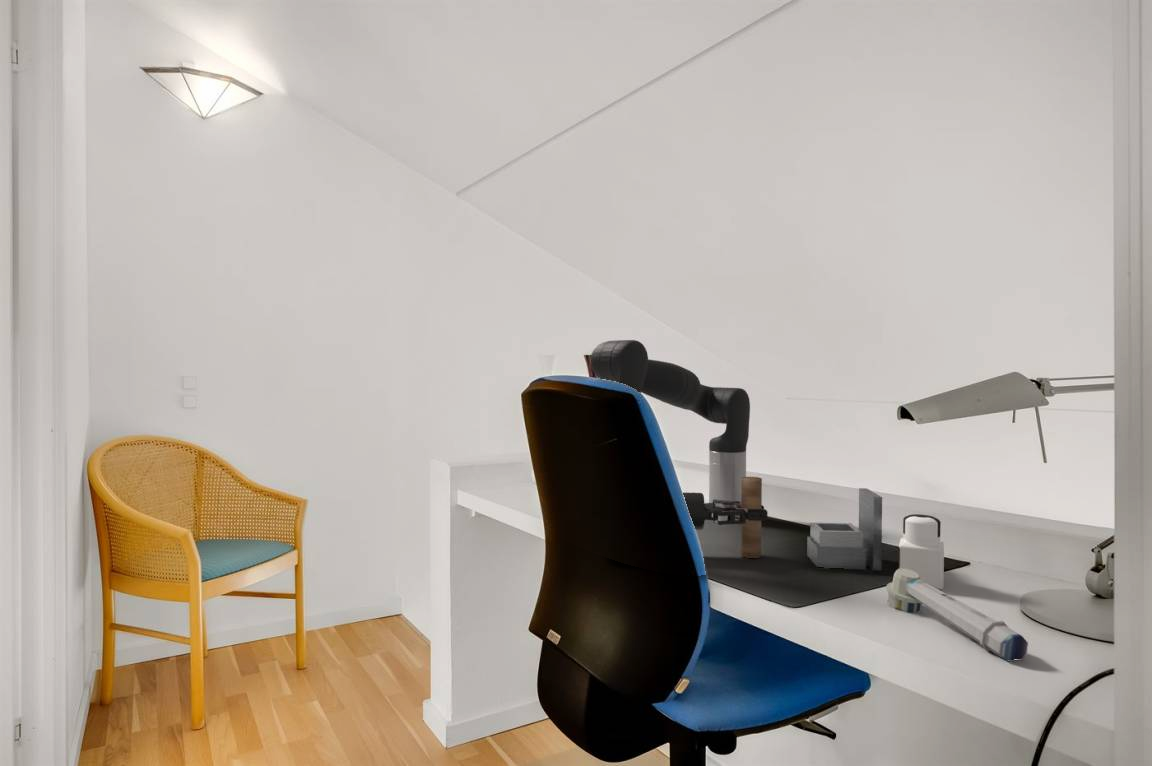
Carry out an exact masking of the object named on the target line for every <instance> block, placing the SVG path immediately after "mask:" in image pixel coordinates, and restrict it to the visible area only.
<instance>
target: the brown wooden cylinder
mask: <svg viewBox="0 0 1152 766" xmlns="http://www.w3.org/2000/svg"><path fill="white" fill-rule="evenodd" d="M762 480H763V478H762V477H759V476H746V477H742V488H741V508H746V509H762V505H763V504H762V500H763V499H762V497H763V496H762V494H763V491H762V489H763V488H762V486H763V481H762ZM741 556H742V557H741ZM740 557H741V558H743V557H746V558H745V559H748V558H758V559H760V558H759V557H761V558H762V521H753V520H748V521H747V522H746V523H744V524H740Z"/></svg>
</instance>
